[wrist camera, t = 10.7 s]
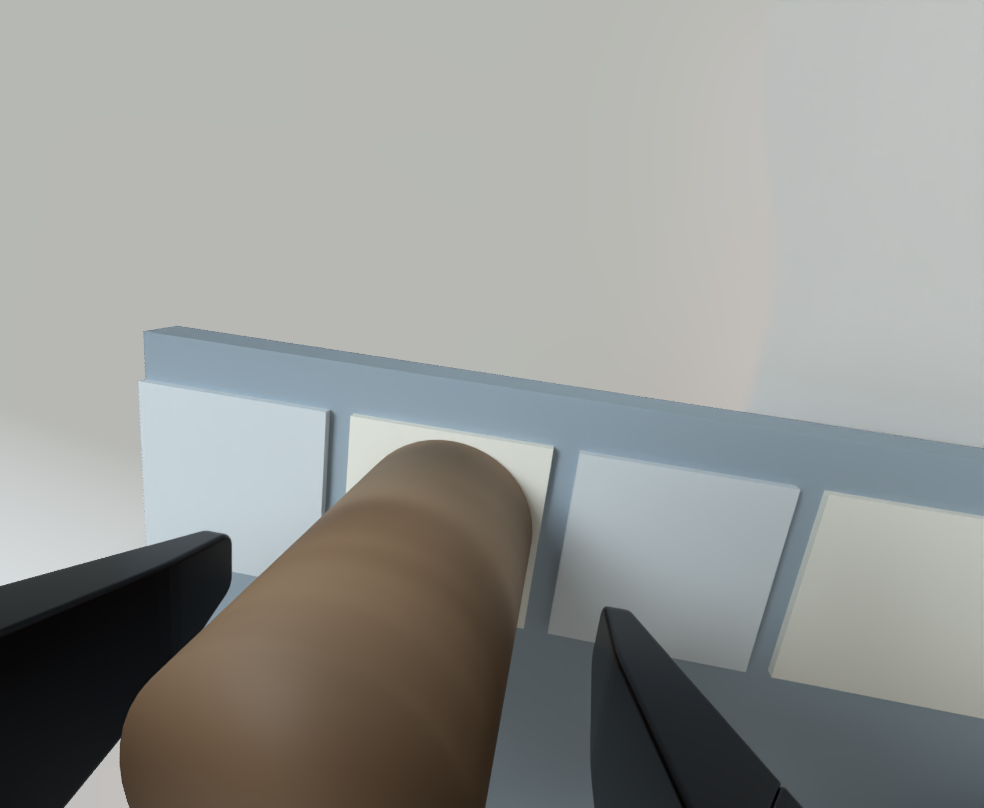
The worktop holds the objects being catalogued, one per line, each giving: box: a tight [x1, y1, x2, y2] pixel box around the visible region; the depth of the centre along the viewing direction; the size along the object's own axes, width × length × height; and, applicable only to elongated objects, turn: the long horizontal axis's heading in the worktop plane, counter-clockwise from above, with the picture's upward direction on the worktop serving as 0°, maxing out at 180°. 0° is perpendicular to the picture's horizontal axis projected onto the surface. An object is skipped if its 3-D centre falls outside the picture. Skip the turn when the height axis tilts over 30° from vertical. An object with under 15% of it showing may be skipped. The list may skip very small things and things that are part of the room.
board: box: [138, 326, 984, 808], centre depth 12 cm, size 15×24×2 cm, turn 83°
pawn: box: [120, 440, 532, 808], centre depth 8 cm, size 4×4×6 cm
